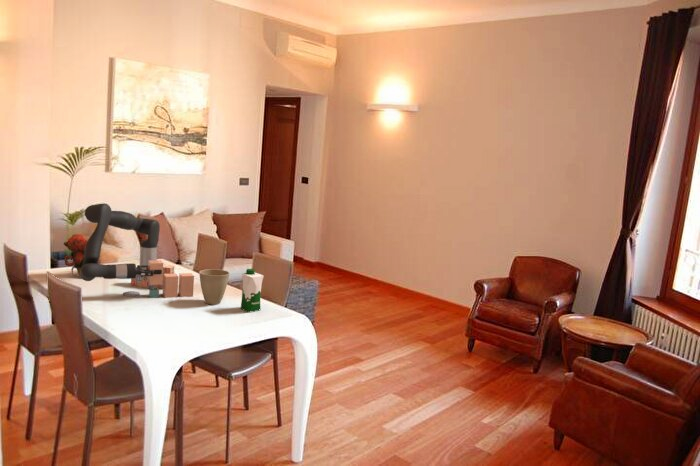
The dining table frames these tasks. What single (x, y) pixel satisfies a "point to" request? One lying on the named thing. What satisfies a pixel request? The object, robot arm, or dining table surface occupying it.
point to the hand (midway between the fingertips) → (160, 270)
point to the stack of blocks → (144, 280)
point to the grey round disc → (131, 293)
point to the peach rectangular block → (186, 284)
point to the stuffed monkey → (76, 251)
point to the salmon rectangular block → (170, 285)
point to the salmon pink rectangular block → (156, 277)
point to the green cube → (153, 292)
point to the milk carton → (251, 290)
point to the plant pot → (213, 284)
